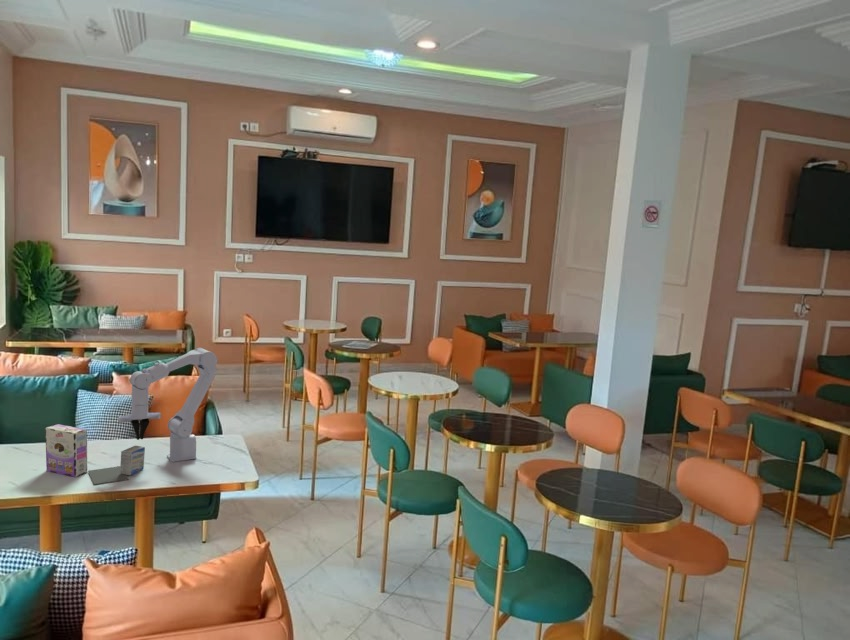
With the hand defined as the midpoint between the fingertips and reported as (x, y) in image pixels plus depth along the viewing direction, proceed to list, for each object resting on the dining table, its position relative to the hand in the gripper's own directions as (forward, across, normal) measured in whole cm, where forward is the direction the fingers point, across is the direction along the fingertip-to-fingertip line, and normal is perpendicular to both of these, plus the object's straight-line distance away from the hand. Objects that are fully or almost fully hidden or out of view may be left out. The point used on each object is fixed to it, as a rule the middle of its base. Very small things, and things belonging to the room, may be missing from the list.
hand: (139, 438), depth 246 cm
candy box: (+11, +24, -4) cm, 26 cm away
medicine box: (+10, +4, +6) cm, 13 cm away
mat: (+10, +12, +6) cm, 17 cm away
